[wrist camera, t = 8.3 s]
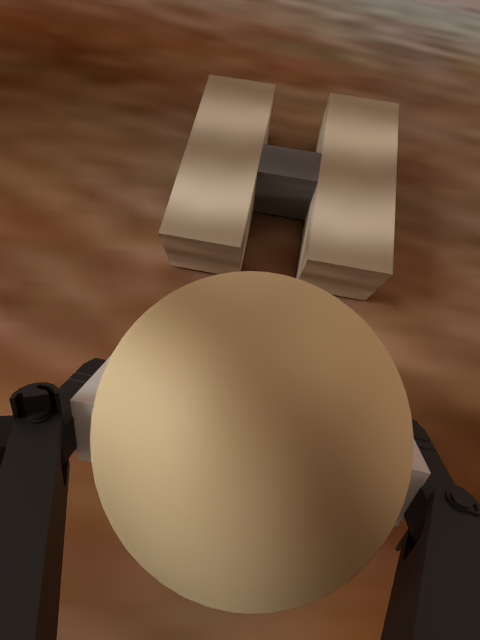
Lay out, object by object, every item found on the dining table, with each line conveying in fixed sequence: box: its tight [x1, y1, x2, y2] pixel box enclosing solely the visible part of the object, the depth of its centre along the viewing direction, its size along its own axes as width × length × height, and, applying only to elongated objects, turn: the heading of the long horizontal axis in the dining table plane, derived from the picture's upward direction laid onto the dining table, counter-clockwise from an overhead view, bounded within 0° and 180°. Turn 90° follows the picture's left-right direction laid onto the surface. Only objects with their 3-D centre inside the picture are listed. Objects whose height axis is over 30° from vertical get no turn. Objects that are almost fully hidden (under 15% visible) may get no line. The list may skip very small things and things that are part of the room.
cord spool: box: [90, 271, 413, 614], centre depth 13 cm, size 8×8×12 cm
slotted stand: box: [159, 75, 399, 300], centre depth 22 cm, size 14×14×4 cm
